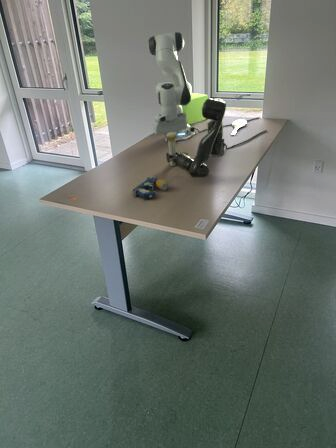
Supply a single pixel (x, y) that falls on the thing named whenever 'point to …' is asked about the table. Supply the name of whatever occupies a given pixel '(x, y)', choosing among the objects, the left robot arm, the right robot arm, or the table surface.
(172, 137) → the lid
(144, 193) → the spray gun
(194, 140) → the table surface
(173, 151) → the pale cream cylinder
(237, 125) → the spoon
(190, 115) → the lime green box
